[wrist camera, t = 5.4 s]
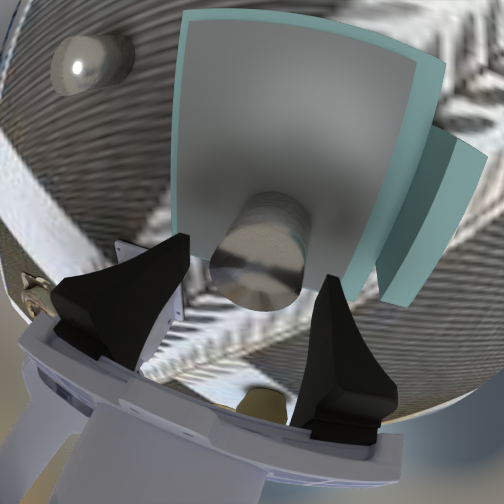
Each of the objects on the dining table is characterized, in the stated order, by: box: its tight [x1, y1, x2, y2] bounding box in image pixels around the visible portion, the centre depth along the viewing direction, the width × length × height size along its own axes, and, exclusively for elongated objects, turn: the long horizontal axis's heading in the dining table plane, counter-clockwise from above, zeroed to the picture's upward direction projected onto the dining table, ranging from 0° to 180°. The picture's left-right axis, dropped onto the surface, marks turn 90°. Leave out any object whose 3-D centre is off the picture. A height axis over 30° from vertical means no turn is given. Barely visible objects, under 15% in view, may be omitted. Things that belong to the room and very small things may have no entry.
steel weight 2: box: [209, 191, 311, 312], centre depth 15 cm, size 4×4×5 cm
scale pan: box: [177, 20, 417, 291], centre depth 15 cm, size 16×12×1 cm
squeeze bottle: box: [236, 388, 288, 425], centre depth 32 cm, size 8×8×18 cm
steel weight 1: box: [51, 35, 135, 96], centre depth 13 cm, size 4×4×5 cm
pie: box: [21, 273, 57, 319], centre depth 47 cm, size 28×27×5 cm
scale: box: [171, 8, 488, 308], centre depth 14 cm, size 18×17×6 cm
